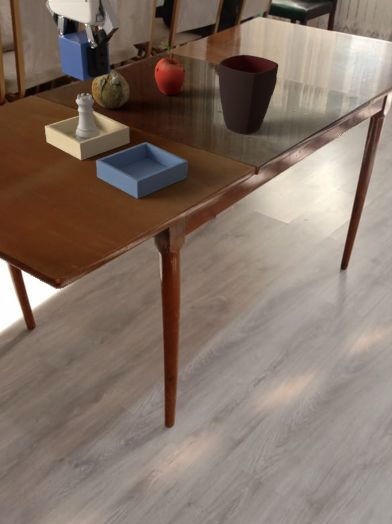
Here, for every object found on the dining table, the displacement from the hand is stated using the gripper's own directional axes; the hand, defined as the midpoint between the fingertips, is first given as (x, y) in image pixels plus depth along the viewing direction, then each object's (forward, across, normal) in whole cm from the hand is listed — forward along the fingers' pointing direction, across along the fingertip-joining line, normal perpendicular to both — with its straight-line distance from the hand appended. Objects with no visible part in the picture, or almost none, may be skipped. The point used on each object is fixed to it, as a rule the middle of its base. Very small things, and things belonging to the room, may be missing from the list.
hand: (86, 68), depth 92 cm
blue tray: (+18, -4, -7) cm, 20 cm away
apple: (+19, +21, -38) cm, 47 cm away
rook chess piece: (+18, +13, -9) cm, 23 cm away
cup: (+18, -2, -38) cm, 42 cm away
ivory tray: (+18, +13, -9) cm, 24 cm away
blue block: (+1, 0, 0) cm, 1 cm away
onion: (+18, +24, -24) cm, 38 cm away
